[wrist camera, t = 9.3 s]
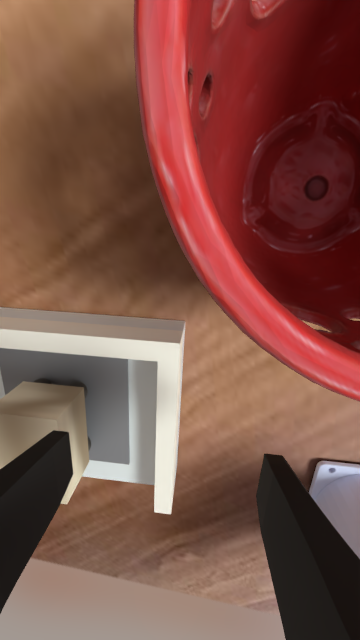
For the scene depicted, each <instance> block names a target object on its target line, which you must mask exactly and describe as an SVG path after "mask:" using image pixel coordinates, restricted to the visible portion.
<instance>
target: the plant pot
mask: <svg viewBox="0 0 360 640" xmlns="http://www.w3.org/2000/svg"><path fill="white" fill-rule="evenodd" d="M134 54H135V71H136V85H137V93H138V101H139V109H140V117H141V125H142V132H143V137H144V141H145V145H146V150H147V154H148V158H149V163H150V167H151V171H152V174H153V177H154V181H155V184H156V187H157V190H158V194H159V196H160V199H161V202H162V205H163V208H164V211H165V213H166V216H167V218H168V220H169V223H170V225H171V228H172V230H173V233H174V235H175V237H176V239H177V241H178V243H179V245H180V247H181V249H182V251H183V253H184V255H185V256H186V258H187V260H188V262H189V263H190V265H191V267H192V268H193V270H194V272H195V274H196V275H197V277H198V279H199V280H200V282H201V283H202V284H203V286H204V287H205V288H206V290H207V291H208V293H209V294H210V295H211V297H212V298H213V299H214V301H215V302H216V303H217V304H218V306H219V307H220V308H221V309H222V310H223V312H224V313H225V314H226V315H227V316H228V317H229V318H230V319H231V320H232V321H233V322H234V323H235V324H236V325H237V326H238V328H239V329H240V330H241V331H242V332H243V333H244V334H246V335H247V336H248V337H249V338H250V339H252V340H253V341H254V342H255V343H256V344H257V345H259V346H260V347H261V348H262V349H264V350H265V351H266V352H268V353H269V354H270V355H272V356H273V357H275V358H276V359H277V360H279V361H280V362H281V363H283V364H284V365H286V366H288V367H289V368H291V369H292V370H294V371H295V372H297V373H298V374H300V375H302V376H303V377H305V378H307V379H308V380H310V381H312V382H314V383H316V384H318V385H320V386H322V387H324V388H326V389H328V390H331V391H333V392H336V393H338V394H341V395H343V396H346V397H349V398H351V399H354V400H357V401H360V321H354V320H350V319H352V318H357V319H360V0H255V1H252V0H135V2H134ZM301 320H304V321H307V322H310V323H313V324H316V325H319V326H322V327H324V328H326V329H328V330H329V331H331V332H328V331H323V330H315V329H313V328H311V327H310V326H308V325H307V324H305V323H304V322H302V321H301Z"/></svg>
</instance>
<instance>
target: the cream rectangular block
mask: <svg viewBox="0 0 360 640" xmlns="http://www.w3.org/2000/svg"><path fill="white" fill-rule="evenodd" d="M87 393H88V390H87V387H86V385H85V384H83V383H82V382H73V383H71V384H69V385H68V386H65V385H55V384H52V382H51V381H50V380H48V379H46V378H40V379H37V380H35V381H34V382H25V381H23V382H22V383H20V384H19V385H18V386H17V387H15V388H14V389H13V390H11V391H10V392H9V393H8V394H6V395H5V396H4V397H2V398H1V399H0V469H1V468H3V467H4V466H5V465H7V464H8V463H10V462H11V461H12V460H14V459H15V458H16V457H18V456H19V455H20V454H22V453H23V452H24V451H26V450H27V449H29V448H30V447H31V446H33V445H34V444H35V443H37V442H38V441H39V440H41V439H42V438H43V437H45V436H46V435H47V434H49V433H50V432H52V431H53V430H56V431H65V432H69V438H70V447H71V456H72V466H73V476H72V478H71V481H70V483H69V485H68V488H67V490H66V492H65V495H64V497H63V499H62V501H61V503H60V504H68V502H69V500H70V498H71V496H72V494H73V492H74V490H75V488H76V486H77V484H78V482H79V481H80V479H81V477H82V475H83V473H84V471H85V469H86V467H87V465H88V463H89V450H90V448H91V440H90V438H89V437H88V436H87V424H86V410H85V398H86V396H87Z"/></svg>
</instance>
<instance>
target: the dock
mask: <svg viewBox="0 0 360 640" xmlns="http://www.w3.org/2000/svg"><path fill="white" fill-rule="evenodd" d="M184 335H185V321H179V320H165V319H152V318H139V317H125V316H112V315H99V314H85V313H72V312H58V311H45V310H32V309H18V308H5V307H0V399H1V398H2V397H4V396H5V395H6V394H8V393H9V392H10V391H11V390H13V389H14V388H15V387H17V386H18V385H19V384H20V383H22V382H23V381H25V382H34V381H35V380H37V379H40V378H46V379H48V380H50V381H51V382H52V384H55V385H65V386H68V385H69V384H71V383H73V382H82V383H83V384H85V385H86V387H87V390H88V393H87V396H86V398H85V410H86V424H87V436H88V437H89V438H90V440H91V448H90V450H89V463H88V465H87V467H86V469H85V471H84V473H83V475H82V476H84V477H92V478H100V479H108V480H117V481H125V482H133V483H141V484H149V485H155V497H154V512H157V513H164V514H171V511H172V502H173V494H174V486H175V477H176V469H177V456H178V439H179V421H180V404H181V387H182V370H183V352H184Z"/></svg>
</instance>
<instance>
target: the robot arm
mask: <svg viewBox="0 0 360 640" xmlns="http://www.w3.org/2000/svg"><path fill="white" fill-rule="evenodd" d="M72 476H73V466H72V456H71V447H70V438H69V432H65V431H56V430H53V431H52V432H50V433H49V434H47V435H46V436H45V437H43V438H42V439H41V440H39V441H38V442H37V443H35V444H34V445H33V446H31V447H30V448H29V449H27V450H26V451H24V452H23V453H22V454H20V455H19V456H18V457H16V458H15V459H14V460H12V461H11V462H10V463H8V464H7V465H5V466H4V467H3V468H1V469H0V613H1V611H2V609H3V607H4V605H5V603H6V601H7V599H8V597H9V595H10V593H11V592H12V590H13V588H14V586H15V584H16V582H17V580H18V579H19V577H20V575H21V573H22V571H23V569H24V568H25V566H26V564H27V563H28V561H29V559H30V557H31V556H32V554H33V552H34V550H35V549H36V547H37V545H38V543H39V541H40V540H41V538H42V536H43V534H44V533H45V531H46V529H47V527H48V525H49V524H50V522H51V520H52V518H53V516H54V515H55V513H56V511H57V509H58V507H59V505H60V503H61V501H62V499H63V497H64V495H65V492H66V490H67V488H68V485H69V483H70V481H71V478H72ZM256 498H257V506H258V514H259V521H260V528H261V534H262V538H263V543H264V547H265V551H266V556H267V560H268V564H269V569H270V573H271V577H272V581H273V586H274V590H275V594H276V598H277V603H278V607H279V611H280V616H281V620H282V624H283V629H284V633H285V638H286V640H360V465H358V464H349V463H340V462H331V461H320V462H318V463H317V465H316V469H315V473H314V476H313V480H312V483H311V487H310V490H309V493H308V491H307V490H306V488H305V487H304V486H303V484H302V483H301V481H300V480H299V479H298V477H297V476H296V474H295V473H294V471H293V470H292V468H291V467H290V466H289V464H288V463H287V461H286V460H285V458H284V457H283V456H281V455H272V454H264V459H263V464H262V469H261V474H260V479H259V485H258V490H257V495H256Z"/></svg>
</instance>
